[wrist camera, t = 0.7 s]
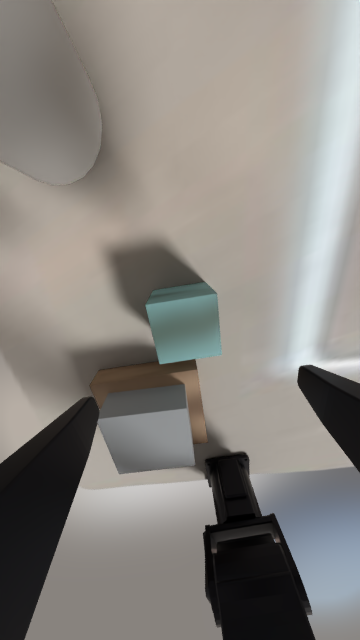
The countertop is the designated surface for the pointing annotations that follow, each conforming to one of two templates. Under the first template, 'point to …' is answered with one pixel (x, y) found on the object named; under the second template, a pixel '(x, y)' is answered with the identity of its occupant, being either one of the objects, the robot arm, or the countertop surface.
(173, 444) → the grey block
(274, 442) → the countertop surface
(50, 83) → the can
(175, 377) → the walnut slab
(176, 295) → the teal block
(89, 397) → the robot arm
